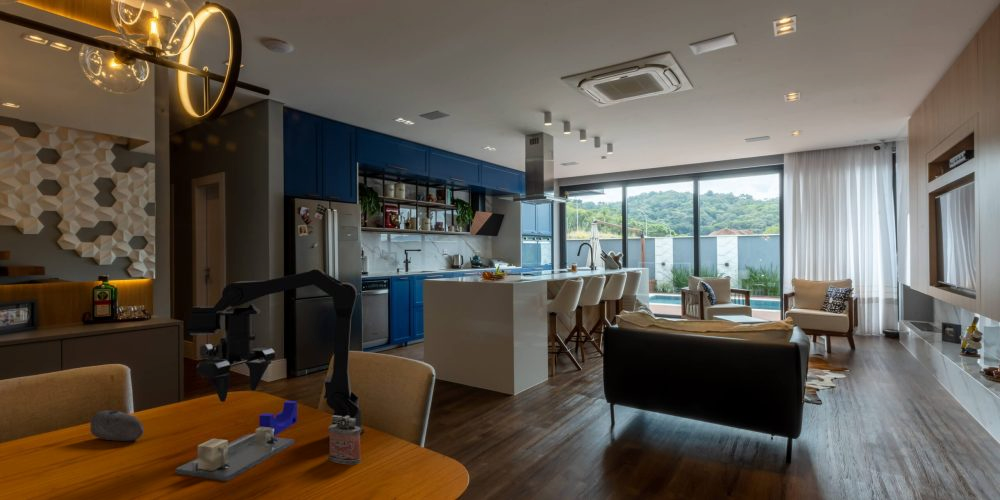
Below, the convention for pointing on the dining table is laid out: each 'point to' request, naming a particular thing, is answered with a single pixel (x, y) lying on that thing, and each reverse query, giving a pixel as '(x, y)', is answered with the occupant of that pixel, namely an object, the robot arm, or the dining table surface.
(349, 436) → the lighter
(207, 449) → the block
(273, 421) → the cable clip
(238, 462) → the drilled plate
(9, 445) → the dining table surface
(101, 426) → the perforated stone tool
